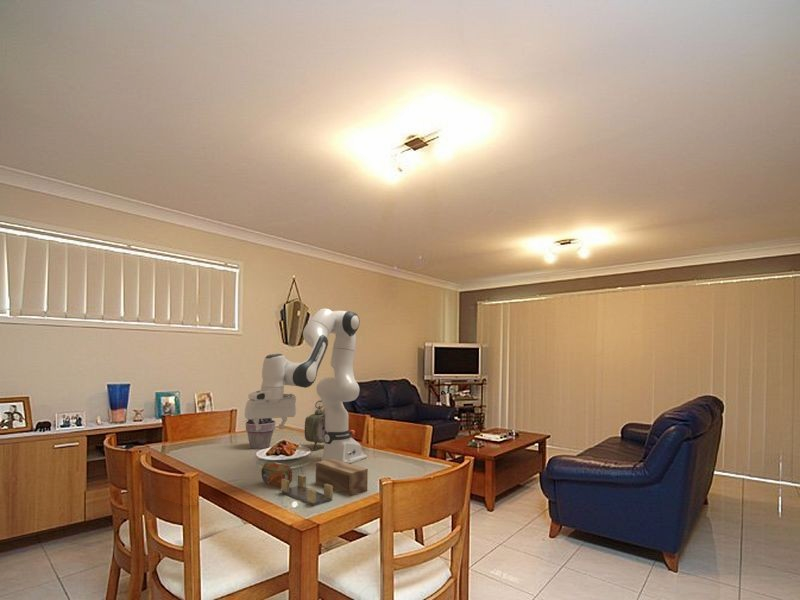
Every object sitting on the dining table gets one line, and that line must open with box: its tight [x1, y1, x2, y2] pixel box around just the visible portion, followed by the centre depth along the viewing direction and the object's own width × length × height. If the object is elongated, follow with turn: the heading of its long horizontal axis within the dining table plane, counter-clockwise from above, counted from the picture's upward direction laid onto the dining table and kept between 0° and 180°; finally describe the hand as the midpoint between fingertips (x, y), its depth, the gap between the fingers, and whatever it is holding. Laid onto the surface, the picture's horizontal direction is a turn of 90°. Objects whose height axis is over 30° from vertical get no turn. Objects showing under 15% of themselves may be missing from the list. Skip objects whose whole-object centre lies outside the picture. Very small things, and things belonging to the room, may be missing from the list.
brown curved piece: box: [261, 461, 293, 488], centre depth 177 cm, size 15×3×8 cm, turn 58°
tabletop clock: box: [304, 400, 325, 451], centre depth 242 cm, size 14×9×25 cm, turn 149°
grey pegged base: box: [280, 474, 334, 507], centre depth 164 cm, size 8×20×5 cm, turn 46°
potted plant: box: [241, 418, 277, 450], centre depth 243 cm, size 18×20×25 cm
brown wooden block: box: [314, 459, 369, 496], centre depth 175 cm, size 8×22×8 cm, turn 46°
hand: (269, 429), depth 179 cm, fingers open, 8 cm apart
